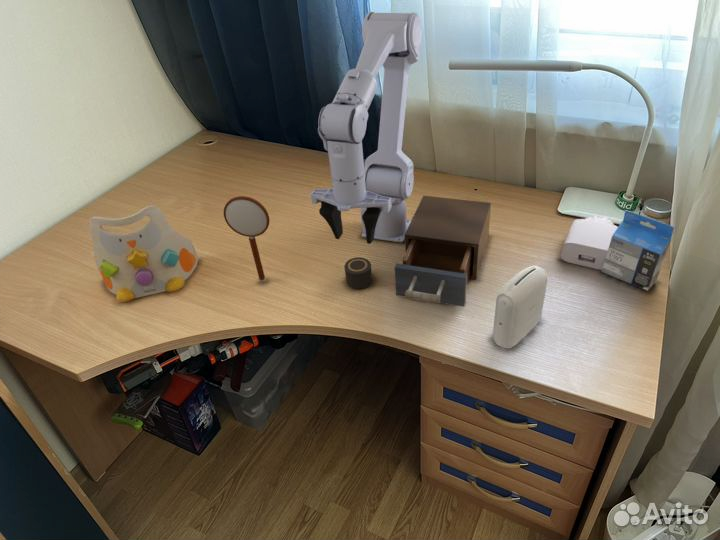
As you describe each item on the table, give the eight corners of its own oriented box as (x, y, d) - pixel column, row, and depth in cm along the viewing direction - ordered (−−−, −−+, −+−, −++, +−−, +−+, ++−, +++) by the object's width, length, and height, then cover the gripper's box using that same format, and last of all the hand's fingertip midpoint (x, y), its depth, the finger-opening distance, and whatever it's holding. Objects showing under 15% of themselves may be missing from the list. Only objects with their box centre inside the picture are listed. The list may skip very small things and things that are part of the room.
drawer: (458, 328, 93) (459, 298, 89) (387, 315, 97) (385, 286, 93) (477, 262, 107) (479, 234, 103) (414, 253, 111) (413, 225, 107)
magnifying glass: (284, 280, 109) (265, 194, 96) (282, 285, 108) (262, 199, 95) (244, 278, 110) (220, 194, 98) (241, 283, 109) (217, 199, 97)
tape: (342, 287, 106) (340, 271, 103) (351, 271, 109) (349, 255, 107) (367, 291, 104) (365, 275, 102) (375, 274, 108) (374, 258, 105)
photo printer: (509, 353, 89) (517, 298, 81) (488, 340, 92) (493, 285, 84) (544, 320, 94) (554, 265, 86) (522, 309, 97) (530, 255, 89)
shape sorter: (99, 310, 106) (61, 237, 95) (104, 278, 114) (69, 207, 103) (200, 287, 109) (174, 213, 98) (198, 257, 117) (174, 186, 106)
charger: (622, 230, 113) (610, 272, 103) (576, 221, 116) (560, 260, 106) (627, 211, 110) (615, 252, 100) (580, 202, 113) (564, 241, 104)
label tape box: (600, 272, 103) (614, 218, 95) (610, 262, 105) (625, 208, 97) (647, 292, 97) (666, 237, 90) (657, 281, 100) (676, 226, 92)
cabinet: (476, 280, 104) (478, 244, 99) (405, 269, 108) (404, 234, 103) (488, 237, 115) (491, 202, 109) (423, 229, 119) (423, 195, 113)
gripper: (299, 181, 91) (310, 245, 100) (381, 189, 87) (385, 256, 95) (315, 161, 96) (325, 224, 105) (393, 168, 92) (396, 234, 100)
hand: (354, 238), depth 100 cm, fingers open, 6 cm apart
